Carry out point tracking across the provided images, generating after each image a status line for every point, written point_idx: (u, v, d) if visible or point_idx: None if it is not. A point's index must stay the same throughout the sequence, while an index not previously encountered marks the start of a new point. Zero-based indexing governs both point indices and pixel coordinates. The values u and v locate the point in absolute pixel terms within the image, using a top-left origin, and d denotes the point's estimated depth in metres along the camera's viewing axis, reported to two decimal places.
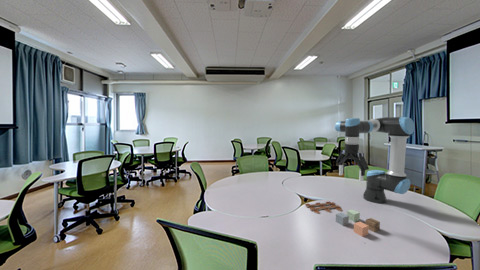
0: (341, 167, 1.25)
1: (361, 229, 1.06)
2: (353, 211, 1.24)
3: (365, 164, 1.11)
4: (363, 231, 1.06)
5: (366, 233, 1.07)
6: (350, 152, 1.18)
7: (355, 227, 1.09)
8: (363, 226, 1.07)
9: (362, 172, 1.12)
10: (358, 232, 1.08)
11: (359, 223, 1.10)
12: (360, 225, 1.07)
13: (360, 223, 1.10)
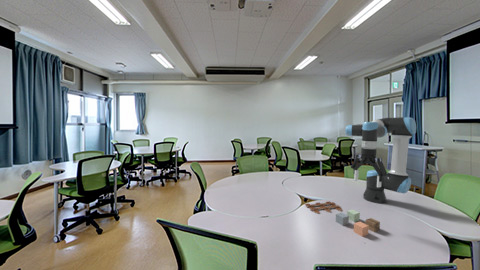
0: (356, 172, 1.21)
1: (361, 229, 1.06)
2: (353, 211, 1.24)
3: (384, 170, 1.07)
4: (363, 231, 1.06)
5: (366, 233, 1.07)
6: (367, 157, 1.14)
7: (355, 227, 1.09)
8: (363, 226, 1.07)
9: (380, 178, 1.08)
10: (358, 232, 1.08)
11: (359, 223, 1.10)
12: (360, 225, 1.07)
13: (360, 223, 1.10)
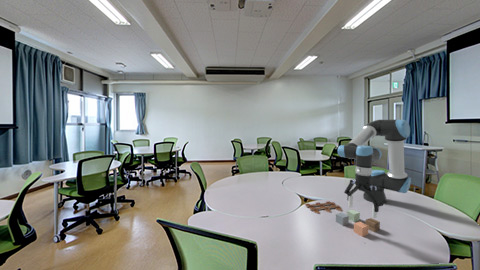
0: (350, 198, 1.13)
1: (361, 229, 1.06)
2: (353, 211, 1.24)
3: (379, 199, 0.99)
4: (363, 231, 1.06)
5: (366, 233, 1.07)
6: (361, 184, 1.06)
7: (355, 227, 1.09)
8: (363, 226, 1.07)
9: (375, 208, 1.00)
10: (358, 232, 1.08)
11: (359, 223, 1.10)
12: (360, 225, 1.07)
13: (360, 223, 1.10)
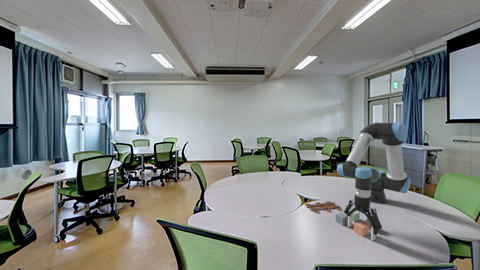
0: (350, 218, 1.14)
1: (361, 229, 1.06)
2: None
3: (378, 222, 1.00)
4: (363, 231, 1.06)
5: (366, 233, 1.07)
6: (360, 205, 1.07)
7: (355, 227, 1.09)
8: (363, 226, 1.07)
9: (374, 230, 1.01)
10: (358, 232, 1.08)
11: (359, 223, 1.10)
12: (360, 225, 1.07)
13: (360, 223, 1.10)
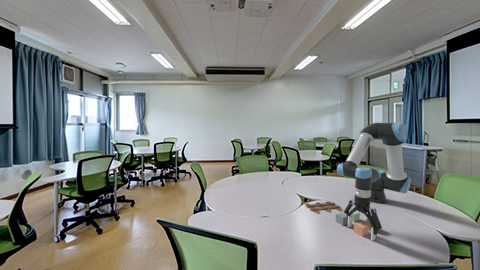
0: (350, 218, 1.14)
1: (361, 229, 1.06)
2: None
3: (378, 222, 1.00)
4: (363, 231, 1.06)
5: (366, 233, 1.07)
6: (361, 205, 1.07)
7: (355, 227, 1.09)
8: (363, 226, 1.07)
9: (374, 231, 1.01)
10: (358, 232, 1.08)
11: (359, 223, 1.10)
12: (360, 225, 1.07)
13: (360, 223, 1.10)
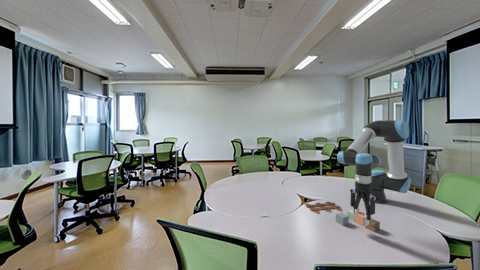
0: (357, 211, 1.10)
1: (362, 219, 1.05)
2: (353, 211, 1.24)
3: (373, 209, 1.02)
4: (364, 221, 1.06)
5: None
6: (361, 191, 1.07)
7: (356, 217, 1.09)
8: (364, 216, 1.07)
9: (368, 216, 1.05)
10: (359, 222, 1.07)
11: (360, 213, 1.10)
12: (361, 215, 1.07)
13: (361, 213, 1.10)
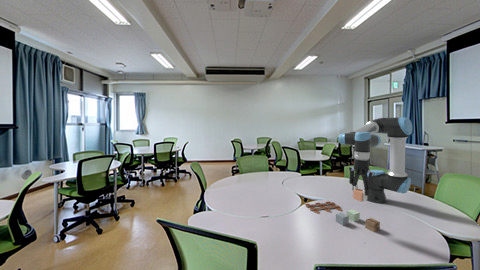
0: (356, 188, 1.15)
1: (361, 194, 1.10)
2: (353, 211, 1.24)
3: (371, 184, 1.06)
4: (362, 196, 1.10)
5: None
6: (360, 168, 1.11)
7: (354, 193, 1.13)
8: (362, 191, 1.11)
9: (366, 191, 1.09)
10: (357, 198, 1.11)
11: (358, 190, 1.14)
12: (359, 191, 1.11)
13: (359, 190, 1.14)
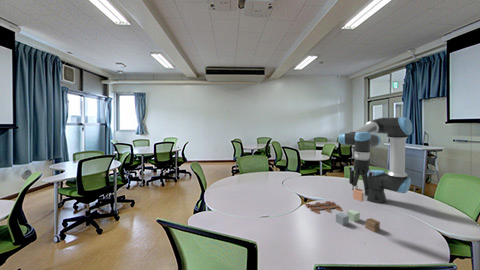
0: (356, 188, 1.15)
1: (361, 194, 1.10)
2: (353, 211, 1.24)
3: (371, 184, 1.06)
4: (362, 196, 1.10)
5: None
6: (360, 168, 1.11)
7: (354, 193, 1.13)
8: (362, 191, 1.11)
9: (366, 191, 1.09)
10: (357, 198, 1.11)
11: (358, 190, 1.14)
12: (359, 191, 1.11)
13: (359, 190, 1.14)
